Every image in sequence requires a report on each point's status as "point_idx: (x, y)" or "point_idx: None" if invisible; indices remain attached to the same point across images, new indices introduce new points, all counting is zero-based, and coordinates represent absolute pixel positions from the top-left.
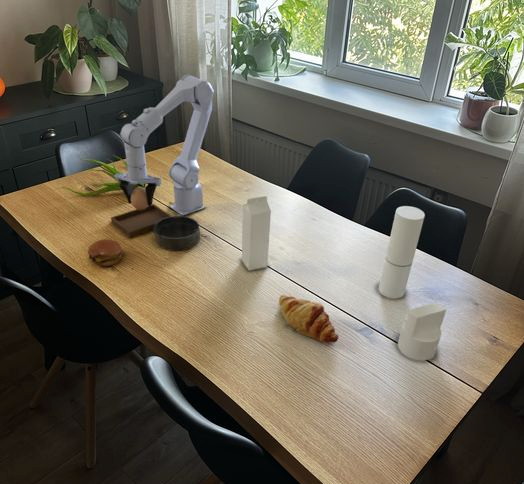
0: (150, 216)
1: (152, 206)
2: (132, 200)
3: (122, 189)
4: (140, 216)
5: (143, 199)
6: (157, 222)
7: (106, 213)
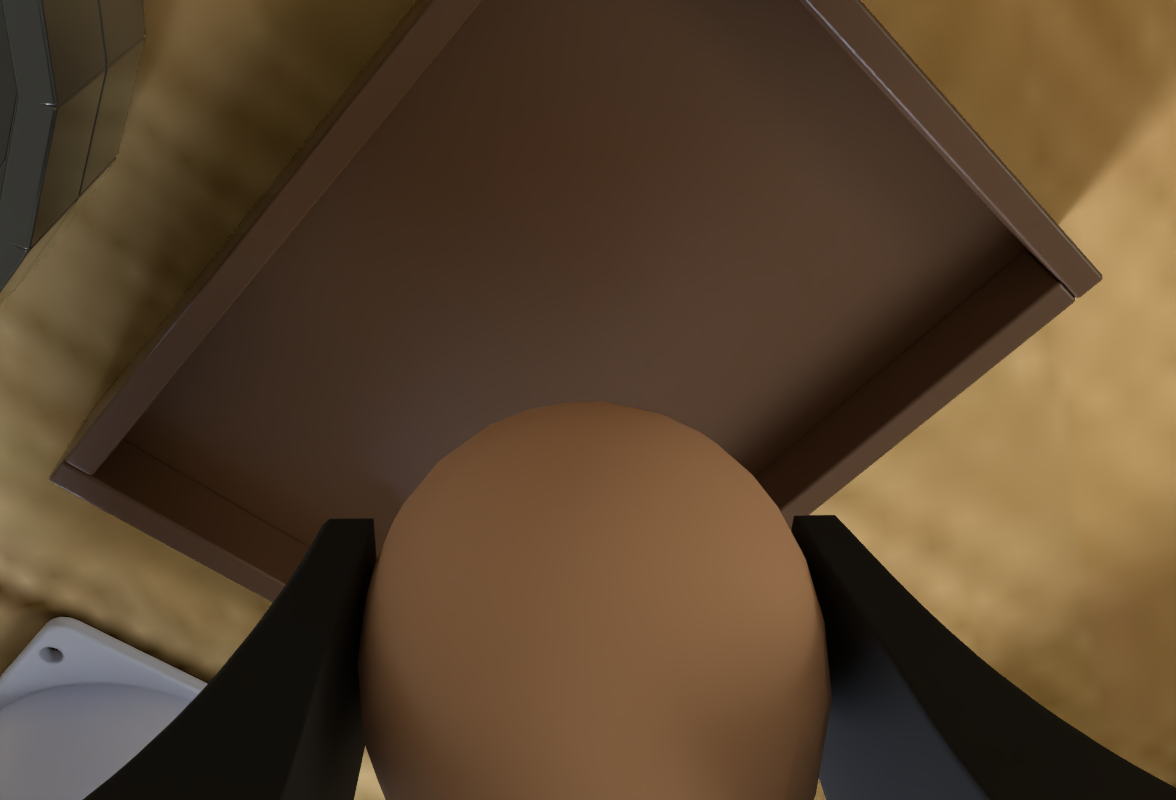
0: None
1: None
2: (743, 524)
3: (1133, 779)
4: None
5: (431, 588)
6: (22, 80)
7: (1153, 462)
